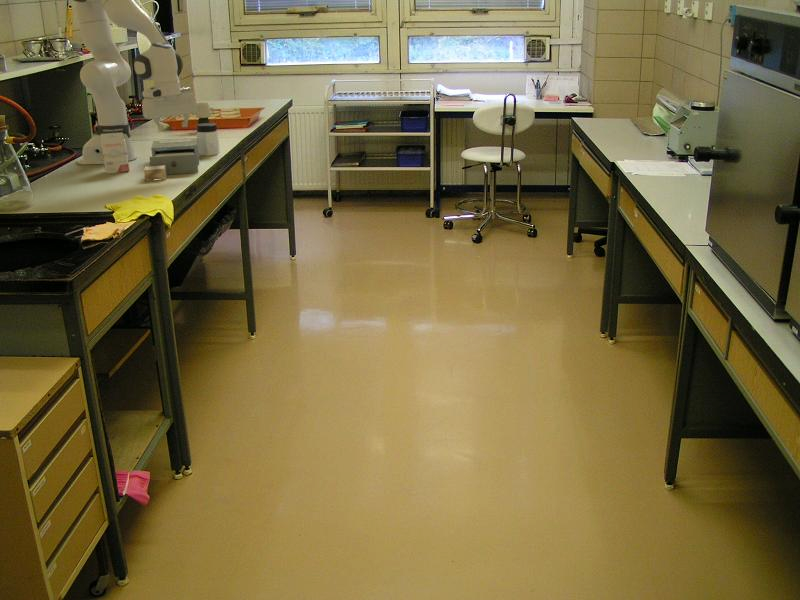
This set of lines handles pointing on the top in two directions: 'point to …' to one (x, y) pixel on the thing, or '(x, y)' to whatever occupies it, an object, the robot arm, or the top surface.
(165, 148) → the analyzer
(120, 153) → the ink cartridge box
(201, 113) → the character mug
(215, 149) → the jar
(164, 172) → the block
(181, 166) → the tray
